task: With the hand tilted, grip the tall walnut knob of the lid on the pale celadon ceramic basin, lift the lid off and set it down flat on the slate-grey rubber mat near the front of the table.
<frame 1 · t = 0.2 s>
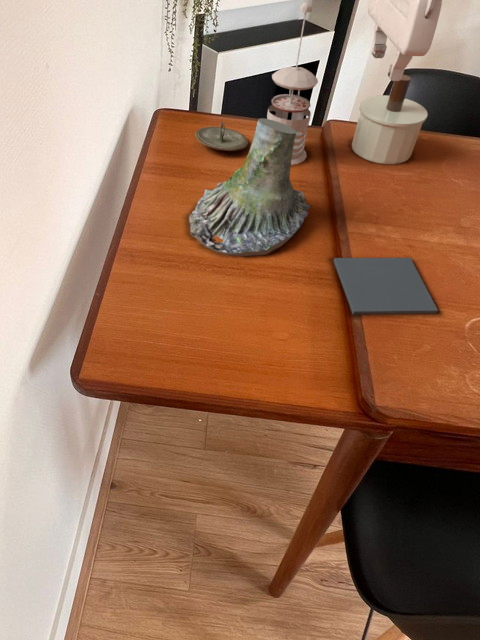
hand: (385, 67, 84), 19 cm above the table, tool pointing down, fingers open, 8 cm apart
french press: (282, 153, 104), on the table
mat: (382, 287, 77), on the table
lid: (221, 147, 104), on the table
basin: (380, 150, 105), on the table
tree stump: (246, 222, 87), on the table
basin lid: (392, 112, 100), point 7 cm above the table, touching basin
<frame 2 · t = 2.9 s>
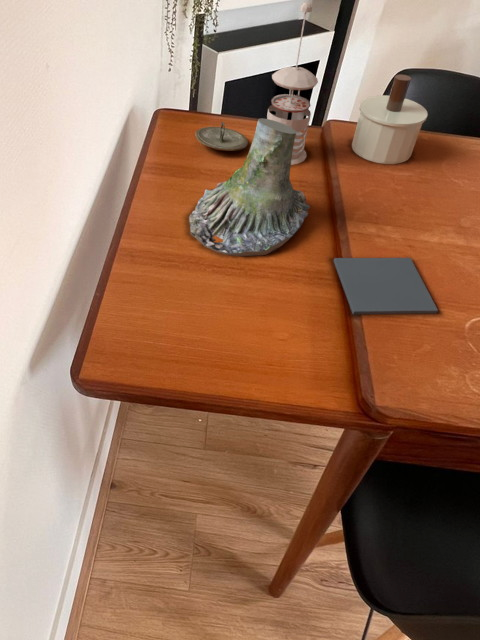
nothing on the table moved.
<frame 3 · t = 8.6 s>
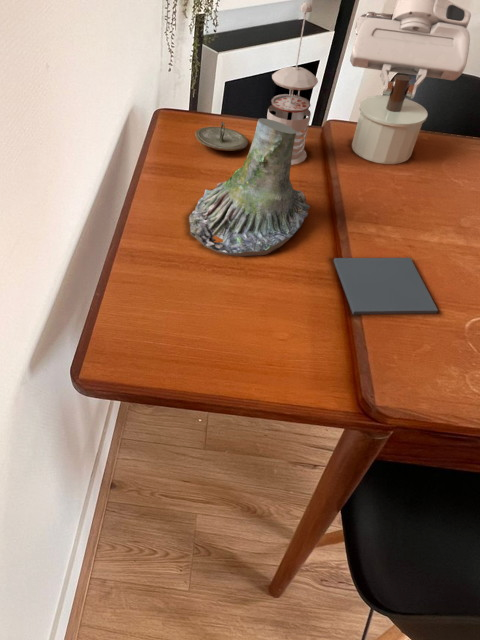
hand: (398, 95, 97), 11 cm above the table, tool tilted 45°, fingers closed on basin lid, 3 cm apart
basin lid: (392, 112, 100), point 8 cm above the table, touching basin, gripper
everything else where it was.
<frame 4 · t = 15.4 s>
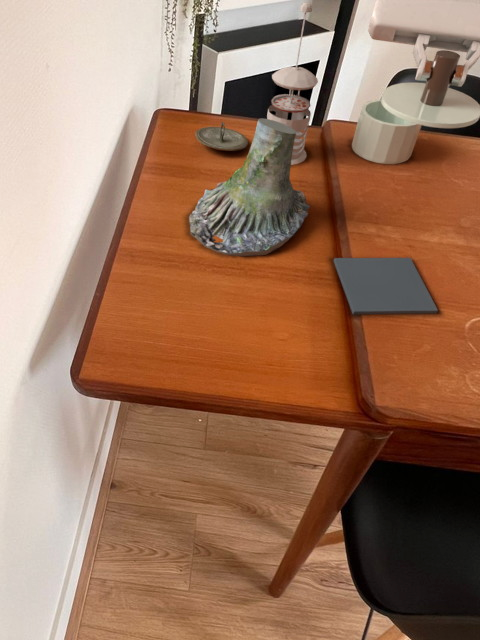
hand: (439, 81, 65), 25 cm above the table, tool tilted 45°, fingers closed on basin lid, 3 cm apart
basin lid: (429, 106, 68), point 21 cm above the table, touching gripper
everything else where it was.
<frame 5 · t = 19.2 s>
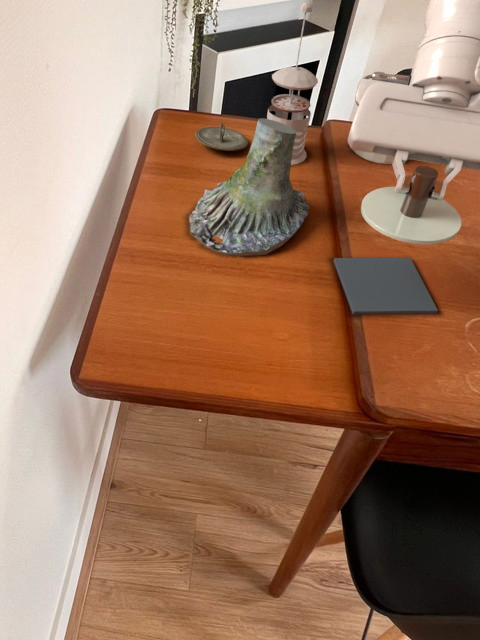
hand: (418, 195, 65), 15 cm above the table, tool tilted 45°, fingers closed on basin lid, 3 cm apart
basin lid: (409, 216, 68), point 12 cm above the table, touching gripper
everything else where it was.
when the fingers open (5 cm above the table, at t = 22.2 s): basin lid stays where it is, resting on mat.
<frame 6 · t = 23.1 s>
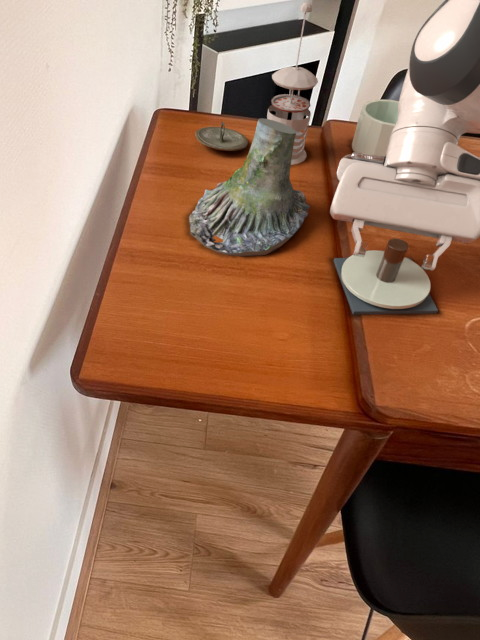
hand: (393, 262, 73), 5 cm above the table, tool tilted 45°, fingers open, 8 cm apart
basin lid: (384, 279, 76), point 1 cm above the table, touching mat
everything else where it was.
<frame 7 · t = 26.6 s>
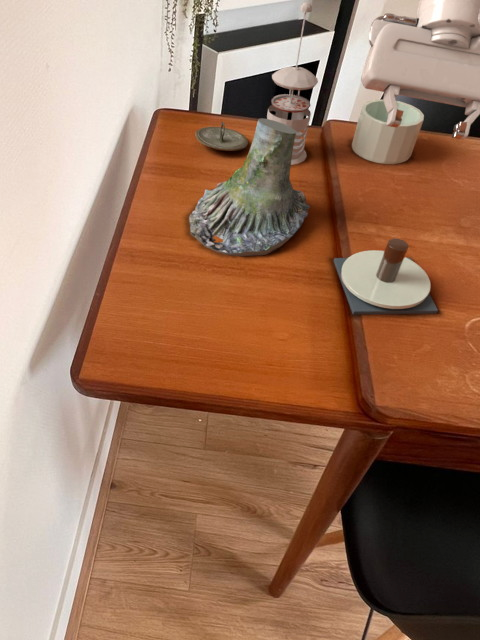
hand: (426, 131, 73), 17 cm above the table, tool tilted 40°, fingers open, 8 cm apart
nothing on the table moved.
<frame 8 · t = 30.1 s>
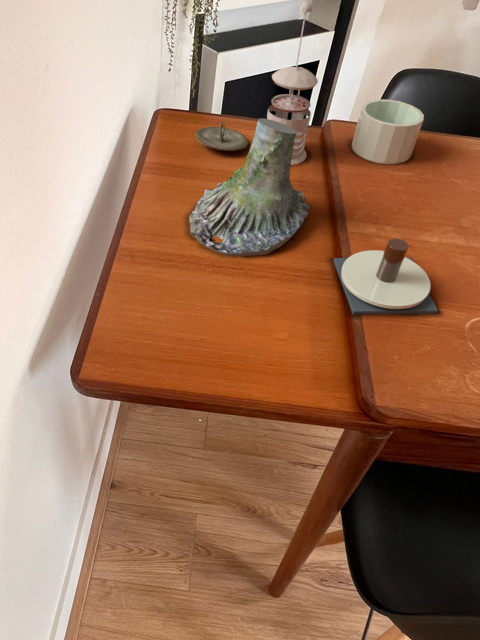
nothing on the table moved.
at the end: basin lid inside the target area on the mat (0.1 cm from its centre), point 1.4 cm above the mat's base; basin lid tilted 0° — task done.
